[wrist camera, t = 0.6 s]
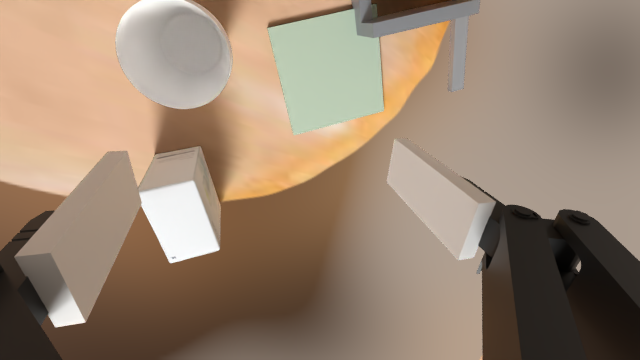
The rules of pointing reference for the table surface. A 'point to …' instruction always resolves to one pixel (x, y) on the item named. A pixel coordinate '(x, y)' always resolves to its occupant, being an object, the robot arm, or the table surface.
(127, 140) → the table surface
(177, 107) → the cup
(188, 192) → the skincare box
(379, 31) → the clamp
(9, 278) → the robot arm
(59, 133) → the table surface
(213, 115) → the table surface
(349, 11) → the mat
